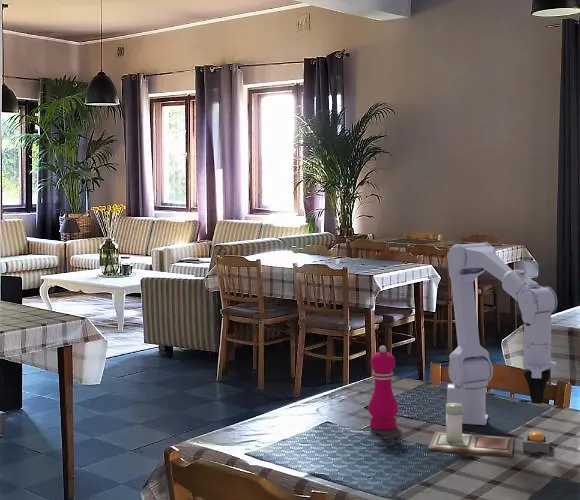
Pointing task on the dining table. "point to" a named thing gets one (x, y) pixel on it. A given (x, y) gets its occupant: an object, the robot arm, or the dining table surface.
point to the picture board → (474, 444)
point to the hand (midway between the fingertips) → (536, 402)
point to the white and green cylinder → (454, 422)
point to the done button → (536, 436)
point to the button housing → (535, 444)
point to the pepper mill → (383, 392)
